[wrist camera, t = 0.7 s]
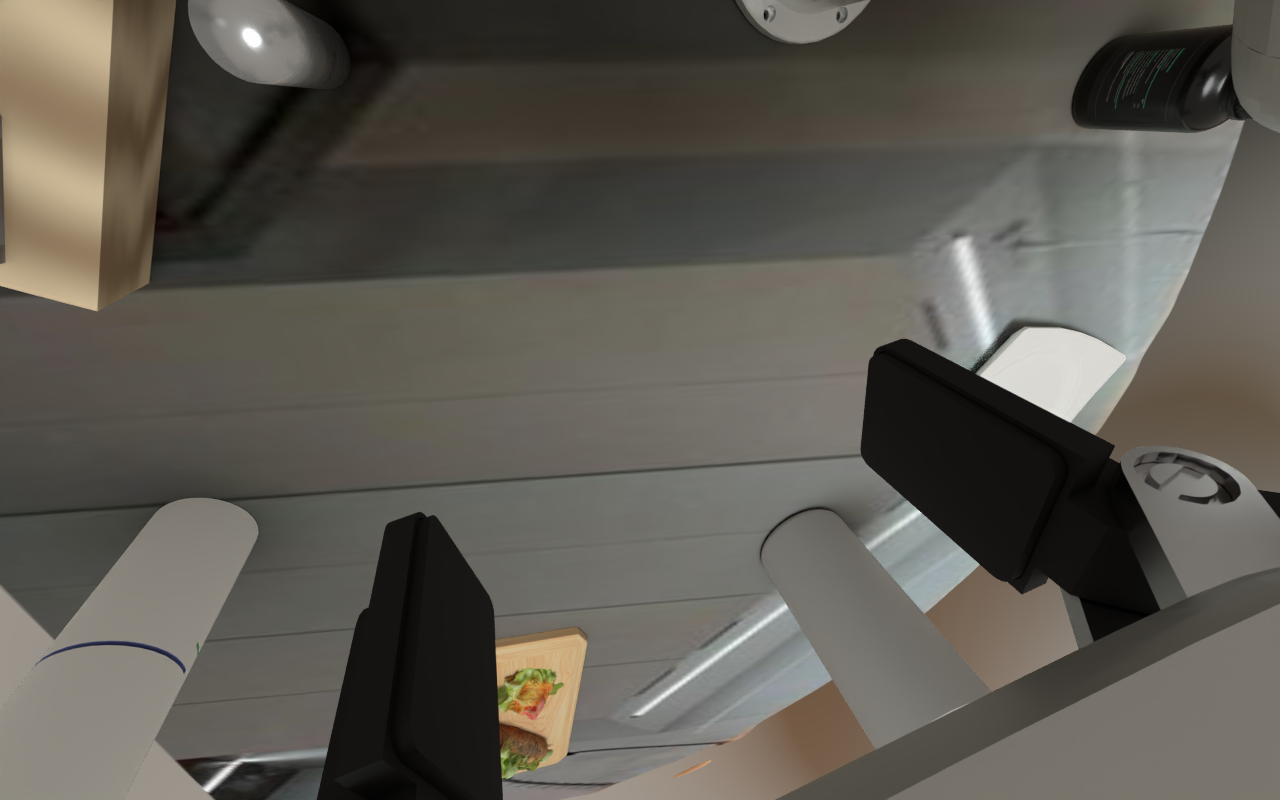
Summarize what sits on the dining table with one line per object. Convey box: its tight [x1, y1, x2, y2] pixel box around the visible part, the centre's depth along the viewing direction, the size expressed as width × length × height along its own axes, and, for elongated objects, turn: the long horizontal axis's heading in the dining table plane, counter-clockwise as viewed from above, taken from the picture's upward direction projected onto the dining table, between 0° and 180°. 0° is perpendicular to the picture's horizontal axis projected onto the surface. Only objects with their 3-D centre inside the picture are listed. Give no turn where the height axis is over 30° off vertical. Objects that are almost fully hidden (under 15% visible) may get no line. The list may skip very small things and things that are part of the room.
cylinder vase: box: [761, 509, 992, 749], centre depth 55 cm, size 12×12×25 cm
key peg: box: [188, 0, 351, 89], centre depth 22 cm, size 3×3×10 cm
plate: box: [975, 327, 1126, 422], centre depth 62 cm, size 24×24×3 cm
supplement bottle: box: [1073, 24, 1253, 133], centre depth 37 cm, size 7×7×12 cm
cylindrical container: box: [0, 498, 259, 800], centre depth 29 cm, size 7×7×25 cm
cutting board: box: [495, 627, 587, 779], centre depth 64 cm, size 35×23×8 cm
